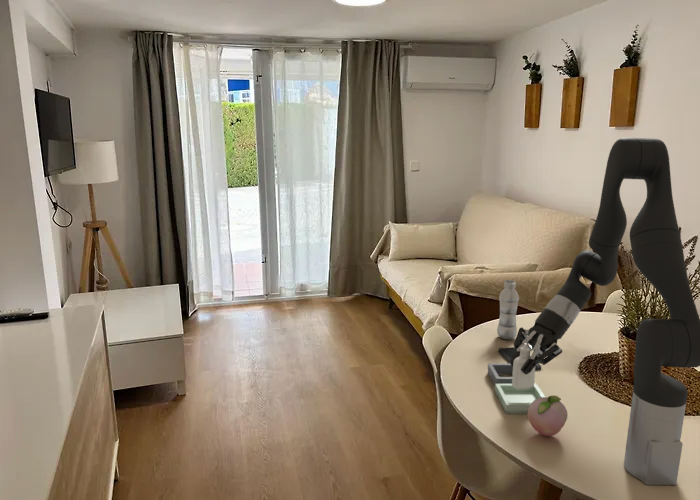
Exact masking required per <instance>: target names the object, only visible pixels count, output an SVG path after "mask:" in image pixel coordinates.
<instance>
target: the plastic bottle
mask: <svg viewBox="0 0 700 500" xmlns="http://www.w3.org/2000/svg"><path fill="white" fill-rule="evenodd" d="M516 284H517V282H516V281H515V280H511V279H507V280H504V284H503V287H504V288H503V289H502V291H500V293H499V295H498V296H499V297H498V298H499V320H498V325H497V329H496V332H497V335H498V337H499V338H501V339H503V340H508V341H509V340H513V339H516V338H515V337H517V334H518V329H517V310H518V306H519V305H518V304H519V300H520V296H519V294H518V292H517V290H516V288H517V286H516Z"/></svg>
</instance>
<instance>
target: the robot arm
mask: <svg viewBox="0 0 700 500" xmlns="http://www.w3.org/2000/svg"><path fill="white" fill-rule="evenodd" d="M668 151H669V150H668V148H667V145H666V144H665V142H664V141H663V140H662V139H658V138H647V137H646V138H643V137H621V138H619V139H617V140H616V141H615V142H614V143H613V144H612V146H611V148H610V151H609V153H608V157H607V161H606V167H605V171H604V173H605V174H604V179H603V185H602V189H601V190H602V191H601V196H600V201H599V202H600V203H599V207H598V212H597V216H596V219H595V222H594V224H593V228H592V230H591V233H590V236H589V240H588V246H589V248H590V249H591V250H589V249H588V250H587V249H586V250H582V251H580V252H578V253H577V255H576V256H575V258H574V260H573V263H572V266H571V269H570V271H569V274H568V277H567V278H566V280H565V282H564V284H563V285H562V286H561V288H560V289H559V290H558V292H557V293H556V294H555V295H554V297H552V298H551V300H550V301H549V302H548V303H547V304H546V306H545V307H544V308H543V309H542V311H541V313H540V314H539V315H538V317H536V319H535V320H534V325H533V326H532V327H530V328H528V329H526V328H524V327H523V326H522V327H519V329H518V330H517V333H516V336H515V337H516V338H514V339H515V340H514V343H513V347H515V348H516V350H517V352H516V353H515V354H514V356H513V357H512V358H511V360H510V364H511V365H512V366H513V362H514V360H515V359H516V358H517V357H519V356H520V348H521V347H523V346H524V343H527V346H528V348H530V352H532V354H530V356H531V359H530V358H529V359H528V360H527V362H526V363H525V364H524V365H523V367H522V368H521V371H522V372H523V373H524V374H526V375H527V374H528V373H530V372H531V371H532V369H533V368H534V367H535V365H536V364H539V365H542V366H544V365H547V364H549V362H551V361H552V360H554V359H555V358H557V357H558V356H560V355H561V354H562V353H563V350H562V348H561V347H560V346H559V345H558V340H561V339H562V338H563V336H564V335H565V334H566V332H567V331H568V329H570V327H571V326H572V325H573V323H574V322H575V320H576V319H577V317H578V316H579V313H580V312H581V311H582V309H583V308H584V307H585V305H587V303H588V301H589V300H591V296H592V291H591V290H590V288H589V287H587V285H585V283H583V282H582V281H581V277H583V278H584V279H585V280H588V281H590V282H592V283H593V284H596V285H598V286H600V287H606V286H608V285H610V284H612V282H613V281H614V280H615V278H616V276H617V274H618V269H619V268H618V264H619V263H618V261H619V248H620V245H621V242H622V240H623V237H624V234H625V232H626V229H627V223H628V221H627V218H628V217H627V214H626V211H625V208H624V205H623V203H622V200H621V199H622V198H621V192H620V191H621V187H622V183H623V181H624V180H640V181H641V180H644V182H645V185H646V199H645V202H644V203H643V206H642V207H641V208H640V211H638V214H637V215H636V217H635V219H634V220H633V221H632V222H633V223H632V225H631V227H630V228H629V229H630V230H629V240H630V241H629V242H630V243H629V244H630V249H631V253H632V255H631V256H632V259H633V262H634V264H635V266H636V268H637V269H638V271H640V273H641V274H642V275H643V277H644V278H646V279H647V281H648V282H649V283H650V284H651V285H652V286H653V287H654V288H655V290H656V291H657V292H658V294H660V296H661V297H662V299H663V301H664V302H665V305H666V307H667V309H668V312H669V316H670V318H645V319H643V320H642V321H641V322H639V323H640V324H639V325H638V327H637V331H636V337H635V352H634V353H635V354H634V364H633V391H632V396H631V397H632V399H631V405H630V413H629V420H628V421H629V422H628V428H627V436H626V443H625V453H624V460H623V466H624V468H625V470H626V471H627V472H628V473H629V474H630V475H631V476H632V477H634V478H636V479H638V480H640V481H641V482H643V484H644V485H647V486H652V485H653V486H657V485H658V486H660V485H661V486H666V485H667V486H668V485H669V486H676V485H677V481H678V475H679V470H680V464H681V463H680V462H681V457H682V452H683V442H682V441H681V439H682V438H681V437H682V432H683V424H684V420H685V412H686V407H687V399H688V394H689V393H688V389H687V386H686V385H685V384H684V383H683V382H681V381H680V380H679V379H676V378H675V377H673V376H670V375H667V374H665V373H662V367H663V368H664V367H666V368H689V369H690V368H691V369H692V368H693V369H694V368H699V367H700V316H699V313H698V310H697V306H696V304H695V300H694V296H693V292H692V289H691V285H690V281H689V276H688V270H687V265H686V262H685V261H686V260H685V255H684V254H685V253H684V248H683V247H684V246H683V242H682V238H681V233H680V228H679V223H678V219H677V215H676V214H677V213H676V208H675V203H674V199H673V191H672V179H671V178H672V176H671V165H670V155H669V152H668Z"/></svg>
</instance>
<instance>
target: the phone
mask: <svg viewBox="0 0 700 500" xmlns="http://www.w3.org/2000/svg"><path fill="white" fill-rule="evenodd" d="M497 352H498V353H499V354H500V355H501V356H502V357H503V359H504V360H505V361H507V362H508V363H510V360H511V358H512V357H513V356H514V354H515V353H516V352H517V350H516V348H515V347H514V346H513V347H512V346H511V347H500V348H498V349H497ZM541 370H542V364H540V363H539V364H536V365H535V371H541Z"/></svg>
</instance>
